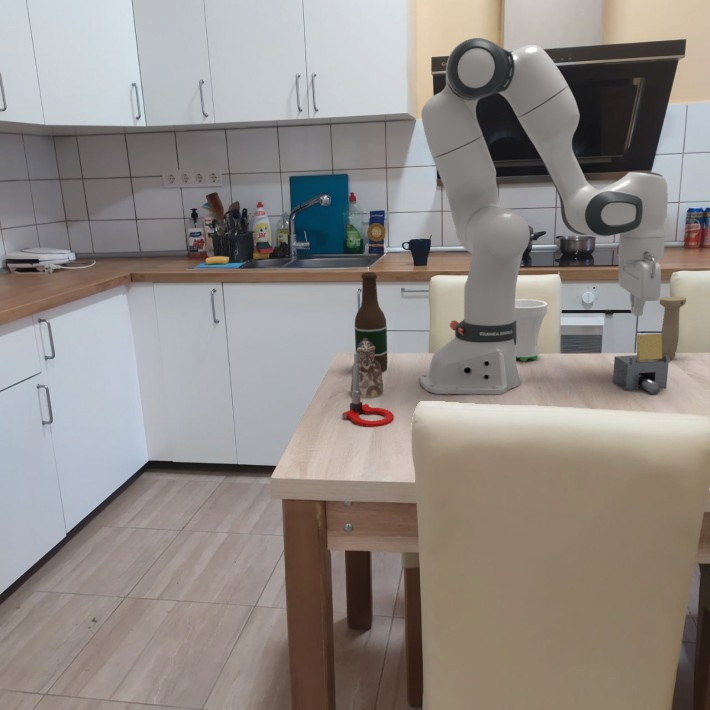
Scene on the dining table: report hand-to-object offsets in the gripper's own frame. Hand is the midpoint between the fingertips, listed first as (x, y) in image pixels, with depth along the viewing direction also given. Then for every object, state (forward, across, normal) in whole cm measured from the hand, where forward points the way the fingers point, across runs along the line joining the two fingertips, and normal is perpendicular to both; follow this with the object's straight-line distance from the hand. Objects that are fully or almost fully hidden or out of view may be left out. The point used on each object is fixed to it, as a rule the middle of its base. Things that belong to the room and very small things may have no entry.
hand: (636, 314), depth 146 cm
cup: (+15, +19, +22) cm, 33 cm away
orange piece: (+15, -4, -1) cm, 15 cm away
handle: (+15, +19, -13) cm, 28 cm away
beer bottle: (+15, +7, +59) cm, 62 cm away
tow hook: (+15, -27, +55) cm, 63 cm away
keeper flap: (+6, -6, -2) cm, 9 cm away
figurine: (+15, -11, +58) cm, 61 cm away
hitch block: (+15, -3, -1) cm, 15 cm away
